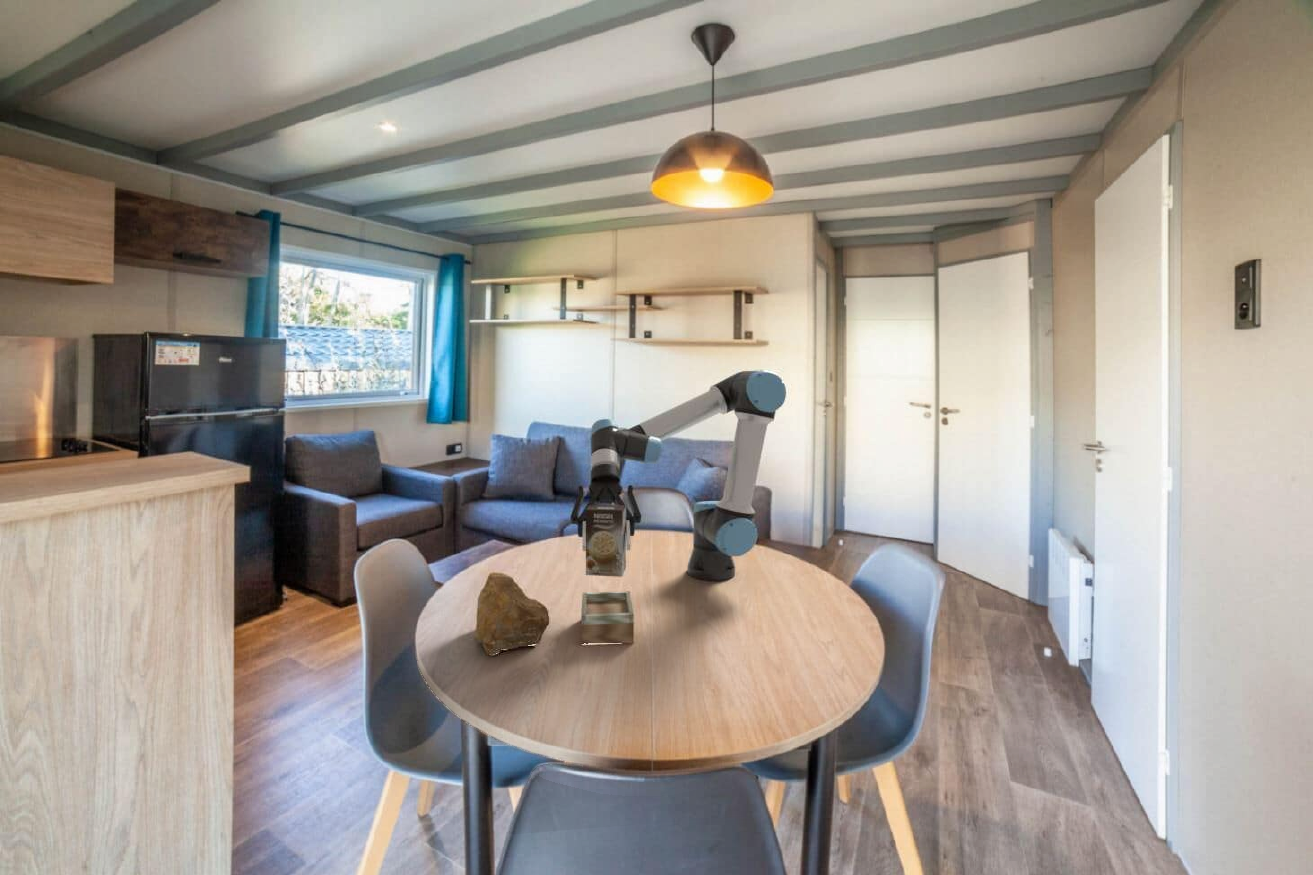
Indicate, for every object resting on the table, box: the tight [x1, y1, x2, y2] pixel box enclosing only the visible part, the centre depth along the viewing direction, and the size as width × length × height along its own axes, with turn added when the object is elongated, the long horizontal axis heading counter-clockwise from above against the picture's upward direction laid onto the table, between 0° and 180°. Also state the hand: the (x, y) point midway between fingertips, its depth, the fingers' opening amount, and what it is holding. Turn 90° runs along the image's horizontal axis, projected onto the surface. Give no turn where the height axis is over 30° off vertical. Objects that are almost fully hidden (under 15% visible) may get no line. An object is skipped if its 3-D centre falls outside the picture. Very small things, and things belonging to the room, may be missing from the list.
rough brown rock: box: [474, 571, 550, 655], centre depth 133 cm, size 23×17×15 cm
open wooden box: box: [580, 590, 635, 644], centre depth 140 cm, size 12×15×7 cm
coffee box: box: [585, 503, 627, 578], centre depth 138 cm, size 9×6×16 cm
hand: (606, 547), depth 135 cm, fingers closed on coffee box, 10 cm apart
